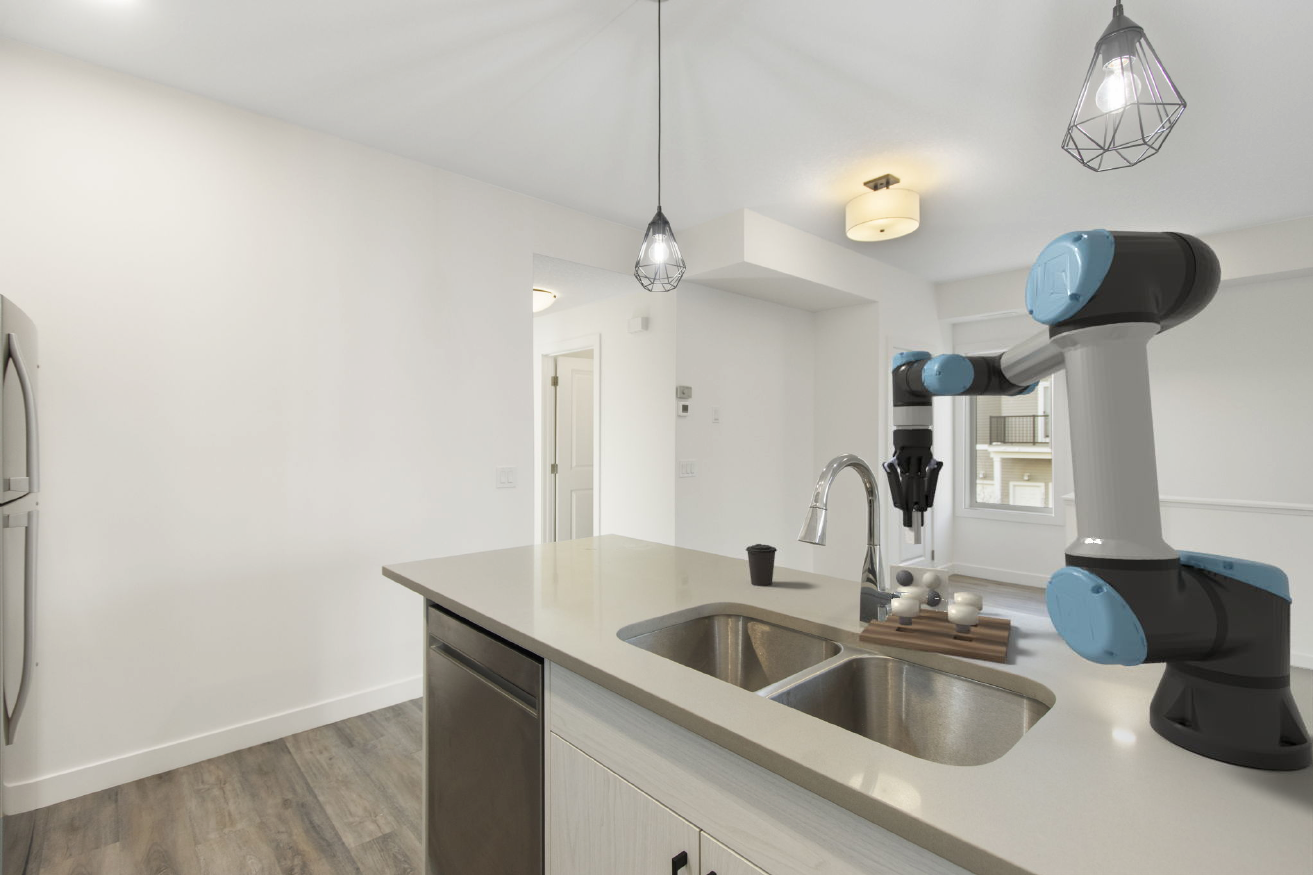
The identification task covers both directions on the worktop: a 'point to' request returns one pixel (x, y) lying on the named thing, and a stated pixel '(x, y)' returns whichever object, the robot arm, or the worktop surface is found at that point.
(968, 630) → the button
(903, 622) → the button
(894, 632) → the board
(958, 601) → the button
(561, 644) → the worktop surface
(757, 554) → the coffee cup
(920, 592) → the button
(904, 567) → the card
